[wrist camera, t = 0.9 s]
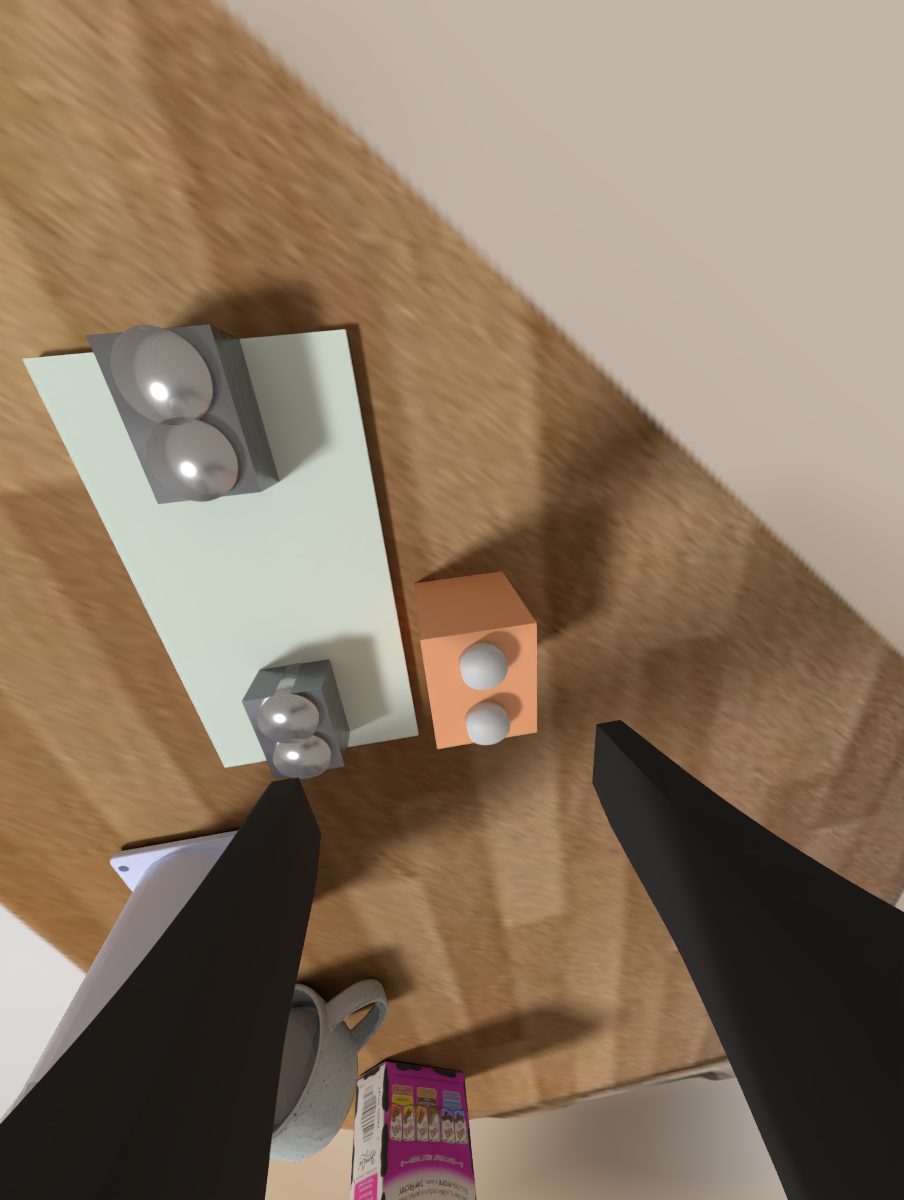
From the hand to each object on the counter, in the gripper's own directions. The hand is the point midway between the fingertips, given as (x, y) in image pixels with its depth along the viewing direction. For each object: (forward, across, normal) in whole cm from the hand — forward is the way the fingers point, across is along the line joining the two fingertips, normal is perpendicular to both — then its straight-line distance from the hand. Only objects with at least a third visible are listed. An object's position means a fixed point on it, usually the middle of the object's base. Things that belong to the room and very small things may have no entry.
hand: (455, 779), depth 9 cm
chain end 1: (+9, +6, -9) cm, 14 cm away
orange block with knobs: (+10, -2, +1) cm, 10 cm away
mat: (+10, +6, -2) cm, 12 cm away
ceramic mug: (+10, +14, +34) cm, 38 cm away
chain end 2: (+9, +6, +4) cm, 12 cm away
